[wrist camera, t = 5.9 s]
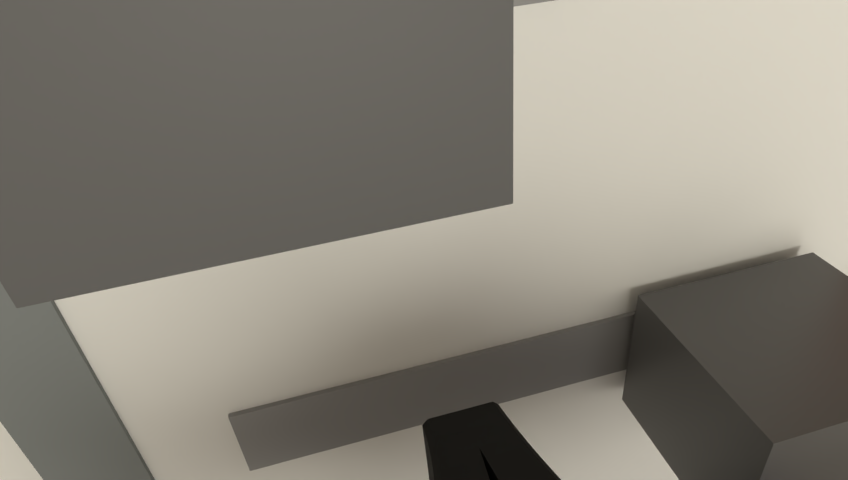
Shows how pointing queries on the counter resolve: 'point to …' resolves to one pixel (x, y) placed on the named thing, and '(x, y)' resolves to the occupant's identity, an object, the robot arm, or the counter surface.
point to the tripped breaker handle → (746, 373)
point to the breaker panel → (571, 244)
